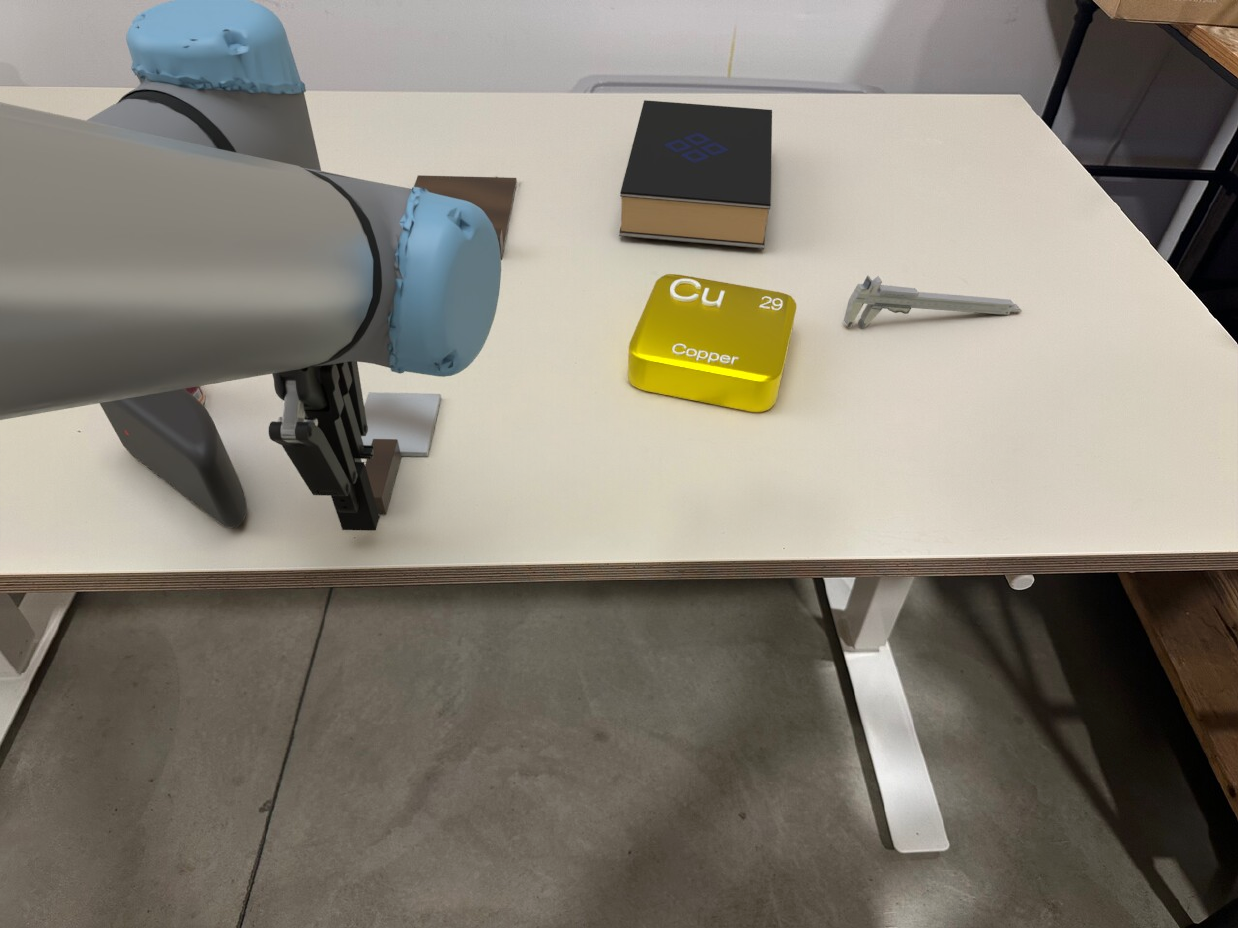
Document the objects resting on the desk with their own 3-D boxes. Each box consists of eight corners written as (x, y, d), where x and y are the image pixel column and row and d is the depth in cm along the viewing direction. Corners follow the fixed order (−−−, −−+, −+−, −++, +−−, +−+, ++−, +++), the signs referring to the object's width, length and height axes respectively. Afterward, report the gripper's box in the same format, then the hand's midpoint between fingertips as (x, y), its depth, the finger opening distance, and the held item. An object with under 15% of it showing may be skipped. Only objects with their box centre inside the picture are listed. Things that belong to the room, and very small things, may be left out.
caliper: (845, 331, 93) (858, 281, 88) (842, 324, 94) (854, 275, 89) (1020, 314, 96) (1041, 266, 91) (1015, 308, 96) (1036, 260, 92)
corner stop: (488, 327, 92) (486, 304, 90) (367, 324, 92) (361, 301, 90) (516, 181, 114) (515, 160, 112) (418, 179, 114) (414, 157, 112)
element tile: (622, 388, 86) (623, 350, 82) (657, 302, 96) (660, 265, 92) (772, 418, 83) (780, 380, 80) (792, 327, 93) (800, 289, 90)
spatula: (414, 515, 74) (410, 498, 72) (332, 513, 74) (326, 496, 72) (441, 398, 84) (438, 381, 83) (369, 396, 84) (365, 379, 82)
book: (765, 156, 120) (772, 109, 115) (763, 254, 103) (771, 204, 98) (642, 147, 121) (643, 100, 117) (619, 242, 104) (620, 191, 99)
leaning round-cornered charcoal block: (279, 506, 74) (247, 427, 67) (233, 539, 72) (195, 460, 65) (169, 425, 81) (129, 346, 74) (123, 453, 78) (78, 373, 71)
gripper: (319, 347, 49) (391, 590, 66) (368, 224, 58) (421, 466, 75) (186, 344, 49) (293, 588, 66) (256, 221, 58) (334, 464, 75)
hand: (361, 523), depth 70 cm, fingers closed
